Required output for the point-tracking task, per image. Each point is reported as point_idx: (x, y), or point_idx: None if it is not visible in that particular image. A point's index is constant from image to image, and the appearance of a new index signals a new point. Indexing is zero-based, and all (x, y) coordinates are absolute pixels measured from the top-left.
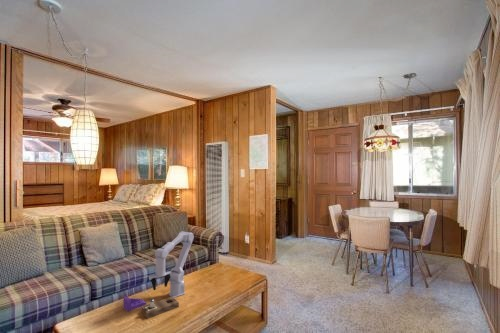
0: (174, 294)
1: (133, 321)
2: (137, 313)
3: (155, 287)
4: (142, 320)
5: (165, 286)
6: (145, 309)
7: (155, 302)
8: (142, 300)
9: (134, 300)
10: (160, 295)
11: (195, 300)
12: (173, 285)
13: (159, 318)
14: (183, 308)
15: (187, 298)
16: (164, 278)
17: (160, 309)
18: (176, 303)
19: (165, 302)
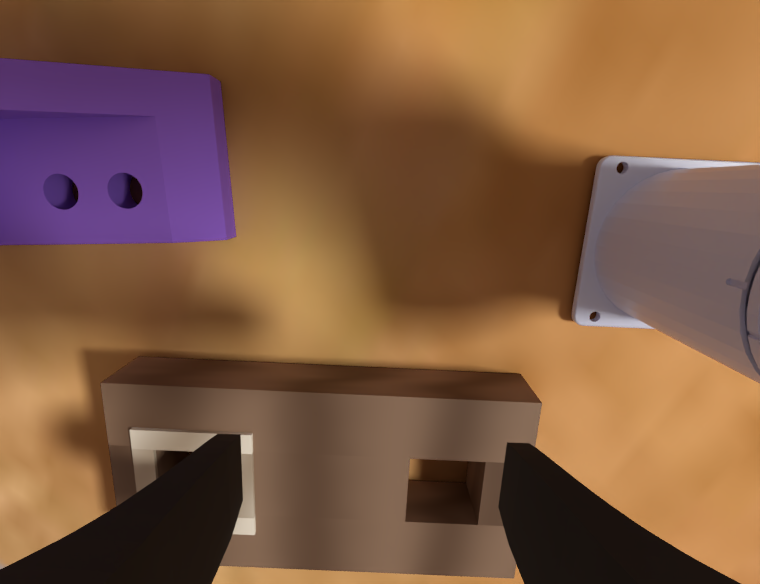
0: (626, 312)
1: (24, 471)
2: (90, 359)
3: (212, 569)
4: (105, 510)
5: (503, 496)
6: (126, 471)
7: (290, 399)
8: (193, 144)
9: (49, 114)
10: (497, 116)
11: (710, 535)
12: (727, 353)
13: (251, 578)
14: (516, 579)
15: (687, 443)
16: (627, 581)
17: (279, 561)
18: (482, 573)
19: (392, 483)
